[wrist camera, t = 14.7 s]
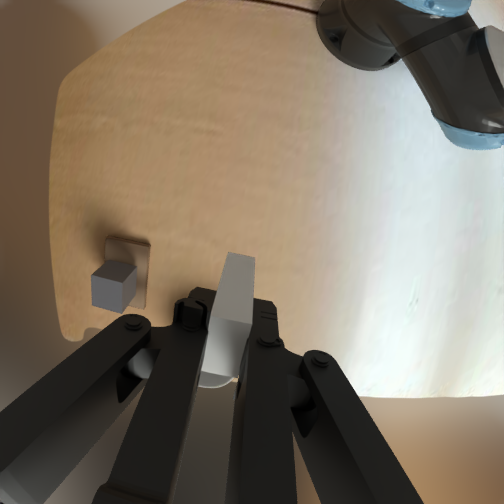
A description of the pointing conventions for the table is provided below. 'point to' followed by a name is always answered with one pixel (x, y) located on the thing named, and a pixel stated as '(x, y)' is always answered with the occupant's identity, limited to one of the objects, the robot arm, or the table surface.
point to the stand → (131, 263)
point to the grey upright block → (113, 286)
